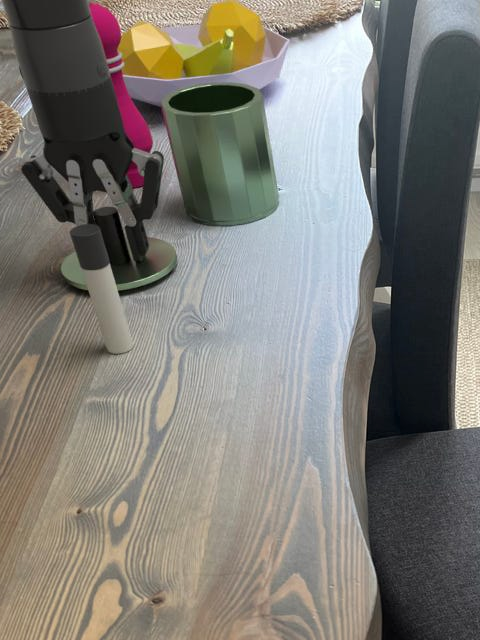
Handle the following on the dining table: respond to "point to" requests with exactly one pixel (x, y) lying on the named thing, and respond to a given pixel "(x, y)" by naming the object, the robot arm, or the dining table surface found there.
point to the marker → (102, 287)
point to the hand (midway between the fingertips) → (120, 258)
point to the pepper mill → (121, 86)
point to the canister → (222, 152)
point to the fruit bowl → (201, 53)
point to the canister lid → (123, 256)
